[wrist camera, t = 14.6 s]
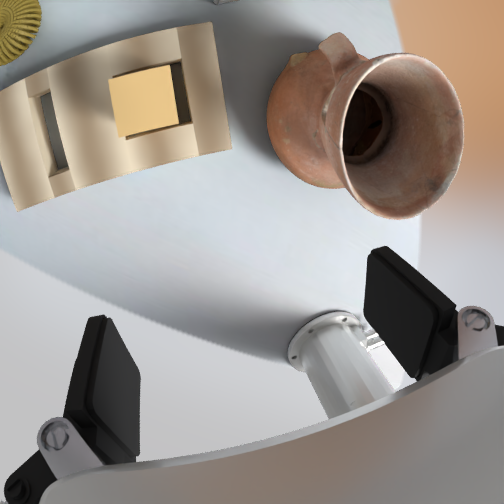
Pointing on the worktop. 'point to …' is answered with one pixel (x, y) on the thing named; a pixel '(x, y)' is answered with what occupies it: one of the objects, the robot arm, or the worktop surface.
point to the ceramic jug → (368, 126)
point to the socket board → (108, 115)
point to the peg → (143, 101)
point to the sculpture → (17, 27)
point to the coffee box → (223, 1)
